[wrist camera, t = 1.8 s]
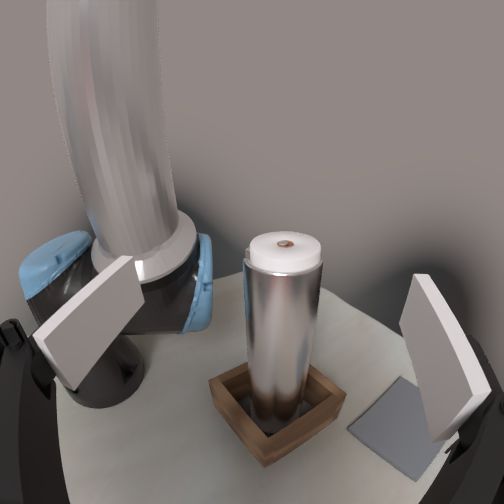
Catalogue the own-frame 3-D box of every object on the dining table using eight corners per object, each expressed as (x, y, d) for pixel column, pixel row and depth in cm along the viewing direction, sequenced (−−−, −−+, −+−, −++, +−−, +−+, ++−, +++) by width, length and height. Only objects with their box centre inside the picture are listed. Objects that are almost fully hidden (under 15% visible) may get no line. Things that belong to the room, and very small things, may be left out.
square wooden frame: (214, 405, 34) (208, 380, 31) (282, 369, 40) (284, 342, 37) (264, 467, 25) (265, 451, 22) (336, 417, 31) (346, 393, 28)
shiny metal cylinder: (267, 389, 36) (270, 222, 26) (307, 407, 33) (336, 237, 22) (241, 419, 32) (224, 247, 21) (282, 441, 28) (302, 270, 17)
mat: (347, 430, 29) (348, 428, 28) (399, 378, 35) (400, 376, 35) (415, 482, 19) (417, 480, 19) (459, 417, 25) (461, 415, 25)
